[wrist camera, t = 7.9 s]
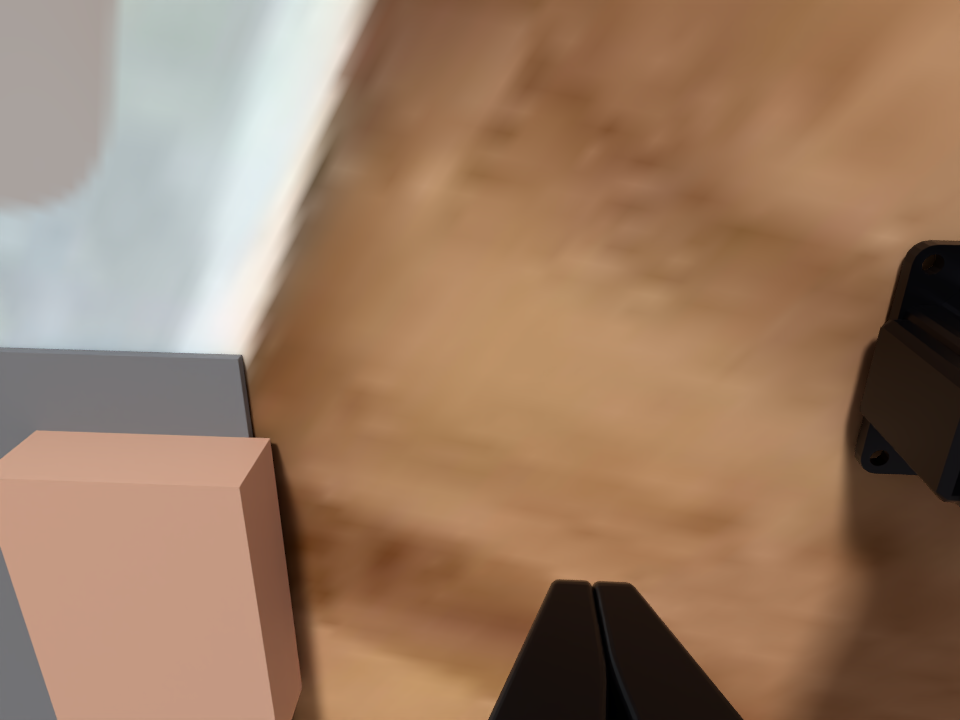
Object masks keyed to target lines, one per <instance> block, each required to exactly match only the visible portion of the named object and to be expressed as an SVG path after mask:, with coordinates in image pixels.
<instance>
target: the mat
mask: <svg viewBox="0 0 960 720" xmlns="http://www.w3.org/2000/svg"><path fill="white" fill-rule="evenodd" d="M36 430H39V431H68V432H98V433H128V434H157V435H187V436H216V437H246V438H253V433H252V426H251V419H250V411H249V404H248V397H247V390H246V382H245V375H244V368H243V361H242V355H226V354H194V353H161V352H128V351H95V350H63V349H30V348H0V459H1V458H3V457H4V456H5V455H6V454H8V453H9V452H10V451H11V450H12V449H14V448H15V447H16V446H17V445H19V444H20V443H21V442H22V441H24V440H25V439H26V438H27V437H29V436H30V435H31V434H32V433H34V432H35V431H36ZM0 720H57V717H56V714H55V711H54V708H53V705H52V702H51V699H50V696H49V693H48V690H47V687H46V684H45V681H44V678H43V675H42V672H41V669H40V666H39V663H38V660H37V657H36V653H35V650H34V647H33V644H32V641H31V638H30V635H29V632H28V629H27V626H26V623H25V620H24V617H23V614H22V611H21V608H20V605H19V602H18V599H17V596H16V593H15V590H14V587H13V584H12V581H11V578H10V575H9V572H8V568H7V565H6V562H5V559H4V556H3V553H2V550H1V547H0Z"/></svg>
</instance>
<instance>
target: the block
mask: <svg viewBox="0 0 960 720" xmlns="http://www.w3.org/2000/svg"><path fill="white" fill-rule="evenodd" d="M0 547H1V550H2V553H3V556H4V559H5V562H6V565H7V568H8V572H9V575H10V578H11V581H12V584H13V587H14V590H15V593H16V596H17V599H18V602H19V605H20V608H21V611H22V614H23V617H24V620H25V623H26V626H27V629H28V632H29V635H30V638H31V641H32V644H33V647H34V650H35V653H36V657H37V660H38V663H39V666H40V669H41V672H42V675H43V678H44V681H45V684H46V687H47V690H48V693H49V696H50V699H51V702H52V705H53V708H54V711H55V714H56V717H57V720H292V717H293V714H294V711H295V708H296V705H297V702H298V699H299V696H300V693H301V690H302V682H301V674H300V667H299V659H298V651H297V643H296V636H295V628H294V620H293V612H292V605H291V597H290V589H289V581H288V573H287V566H286V558H285V550H284V542H283V535H282V527H281V519H280V511H279V504H278V496H277V488H276V480H275V473H274V465H273V457H272V449H271V442H270V438H246V437H216V436H187V435H157V434H128V433H98V432H68V431H39V430H36V431H35V432H34V433H32V434H31V435H30V436H29V437H27V438H26V439H25V440H24V441H22V442H21V443H20V444H19V445H17V446H16V447H15V448H14V449H12V450H11V451H10V452H9V453H8V454H6V455H5V456H4V457H3V458H1V459H0Z"/></svg>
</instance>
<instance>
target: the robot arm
mask: <svg viewBox="0 0 960 720" xmlns="http://www.w3.org/2000/svg"><path fill="white" fill-rule="evenodd" d="M930 255H935V258H936V260H935V262H934V264H933V265H932V266H931V267H930V268H928V269H925V270H922V264H923V262H924V260H925V259H926V258H927V257H929V256H930ZM860 411H861V413H862V414H863V415H864V416H863V420H862V424H861V428H860V432H859V436H858V439H857V443H856V447H855V457H856V459H857V461H858V462H859V464H860V465H861V466H862V467H863V469H865V470H866V471H868V472H871V473H876V474H903V475H918V476H919V477H920V478H921V479H922V480H923V481H924V482H925V483H926V485H927V486H928V487H929V488H930V489H931V490H932V491H933V492H934V493H935V494H936V495H937V497H938V498H939V499H940V500H942V501H944V502H955V503H956V504H957V505H958V506H959V507H960V241H940V240H929V241H922V242H920V243H918V244H916V245H914V246H913V247H912V248H911V249H910V250H909V251H908V252H907V255H906V257H905V259H904V262H903V266H902V270H901V274H900V278H899V281H898V285H897V289H896V293H895V297H894V301H893V305H892V308H891V312H890V316H889V320H888V321H887V322H886V323H885V324H884V325H883V326H882V327H881V328H880V332H879V335H878V339H877V343H876V347H875V351H874V355H873V359H872V363H871V367H870V371H869V375H868V378H867V382H866V386H865V390H864V394H863V398H862V402H861V406H860ZM879 450H883V451H882V453H881V454H880V455H879V456H877V457H876V458H870V457H871V455H872V454H873V453H874V452H876V451H879ZM488 720H743V719H742V717H741V716H740V715H739V714H738V712H737V711H736V710H735V709H734V708H733V706H732V705H731V704H730V703H729V701H728V700H727V699H726V698H725V697H724V695H723V694H722V693H721V692H720V690H719V689H718V688H717V687H716V686H715V684H714V683H713V682H712V681H711V680H710V678H709V677H708V676H707V675H706V673H705V672H704V671H703V670H702V669H701V667H700V666H699V665H698V664H697V662H696V661H695V660H694V659H693V658H692V656H691V655H690V654H689V653H688V651H687V650H686V649H685V648H684V647H683V645H682V644H681V643H680V642H679V640H678V639H677V638H676V637H675V636H674V634H673V633H672V632H671V631H670V629H669V628H668V627H667V626H666V625H665V623H664V622H663V621H662V620H661V618H660V617H659V616H658V615H657V614H656V612H655V611H654V610H653V609H652V607H651V606H650V605H649V604H648V603H647V601H646V600H645V599H644V598H643V596H642V595H641V594H640V593H639V592H638V590H637V589H636V588H635V587H634V586H633V585H631V584H630V583H626V582H606V581H598V582H596V583H594V585H593V586H591V584H590V583H589V582H588V581H583V580H560V579H559V580H555V581H554V582H553V583H552V584H551V586H550V588H549V590H548V592H547V594H546V596H545V599H544V601H543V603H542V605H541V607H540V609H539V612H538V614H537V616H536V618H535V620H534V622H533V624H532V627H531V629H530V631H529V633H528V635H527V637H526V640H525V642H524V644H523V646H522V648H521V650H520V652H519V655H518V657H517V659H516V661H515V663H514V665H513V668H512V670H511V672H510V674H509V676H508V678H507V680H506V683H505V685H504V687H503V689H502V691H501V693H500V696H499V698H498V700H497V702H496V704H495V706H494V708H493V711H492V713H491V715H490V717H489V719H488Z"/></svg>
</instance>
